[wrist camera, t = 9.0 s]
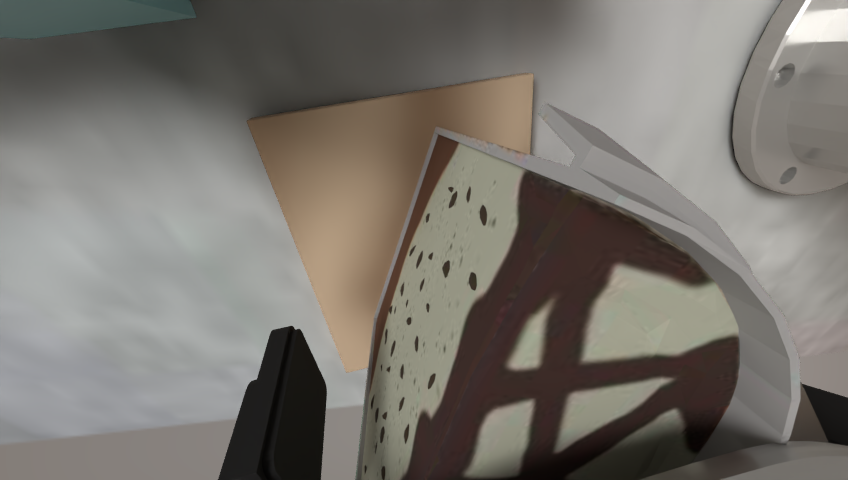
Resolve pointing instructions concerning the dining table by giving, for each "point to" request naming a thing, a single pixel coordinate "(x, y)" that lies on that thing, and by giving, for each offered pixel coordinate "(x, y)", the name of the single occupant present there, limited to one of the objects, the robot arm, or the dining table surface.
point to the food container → (566, 324)
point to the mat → (372, 183)
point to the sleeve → (84, 15)
